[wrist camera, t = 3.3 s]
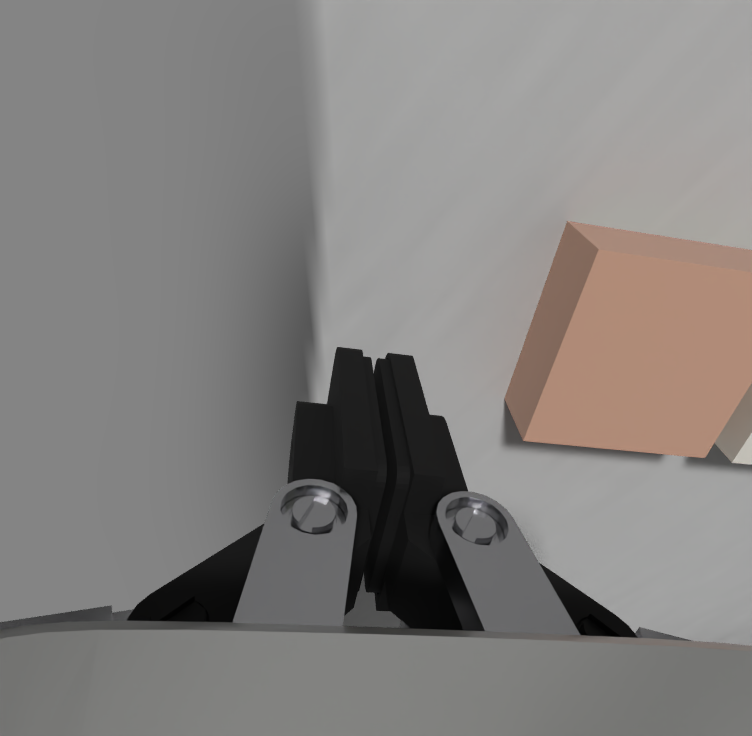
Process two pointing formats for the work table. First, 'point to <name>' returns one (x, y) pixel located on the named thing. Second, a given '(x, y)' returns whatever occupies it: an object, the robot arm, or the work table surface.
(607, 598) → the work table surface
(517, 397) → the terracotta tile
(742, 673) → the robot arm
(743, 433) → the cream tile
